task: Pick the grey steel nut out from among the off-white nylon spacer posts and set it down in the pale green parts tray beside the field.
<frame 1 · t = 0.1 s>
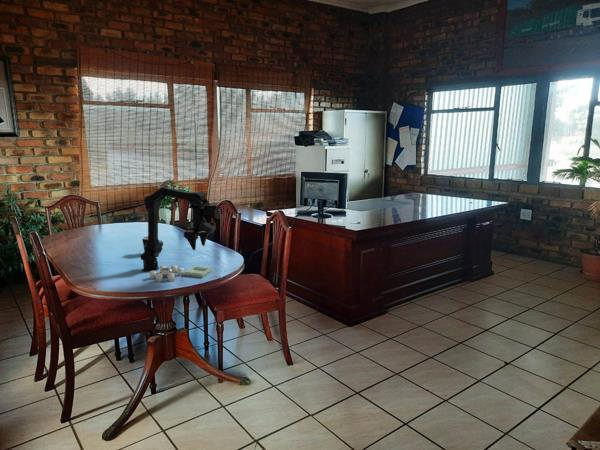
hand: (198, 247, 223), 14 cm above the table, fingers open, 9 cm apart
parts tray: (198, 273, 228), on the table
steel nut: (167, 276, 222), on the table
nylon spacers: (167, 276, 222), on the table
coffee mug: (152, 255, 260), on the table
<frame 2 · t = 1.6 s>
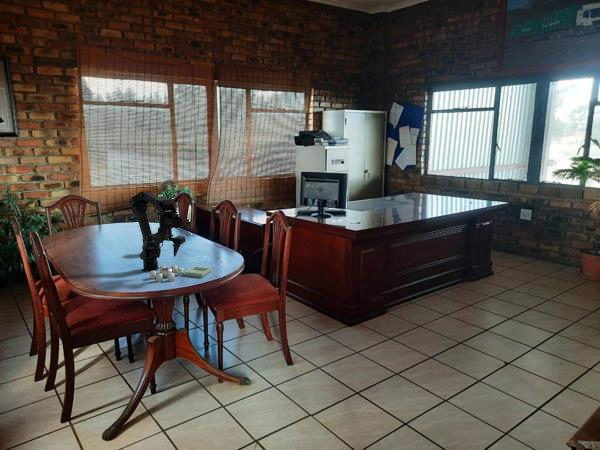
hand: (166, 255, 220), 11 cm above the table, fingers open, 9 cm apart
nothing on the table moved.
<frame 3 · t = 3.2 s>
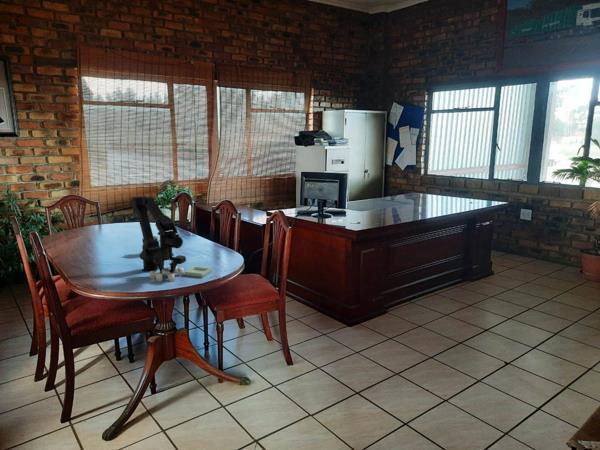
hand: (167, 274, 222), 1 cm above the table, fingers closed on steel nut, 5 cm apart
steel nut: (167, 276, 222), on the table, touching gripper
everything else where it was.
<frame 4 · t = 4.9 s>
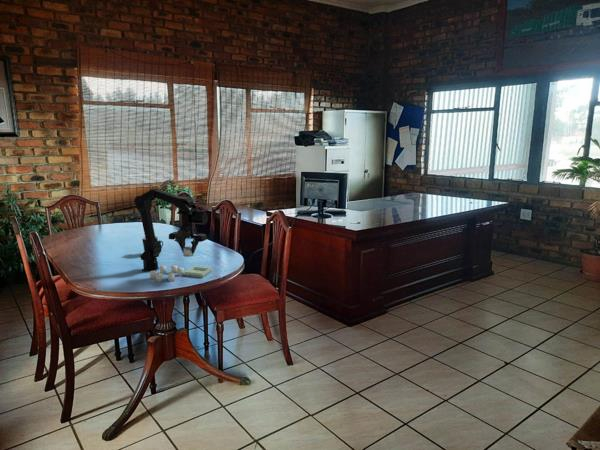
hand: (188, 253, 223), 12 cm above the table, fingers closed on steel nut, 5 cm apart
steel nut: (188, 255, 223), point 10 cm above the table, touching gripper
everything else where it was.
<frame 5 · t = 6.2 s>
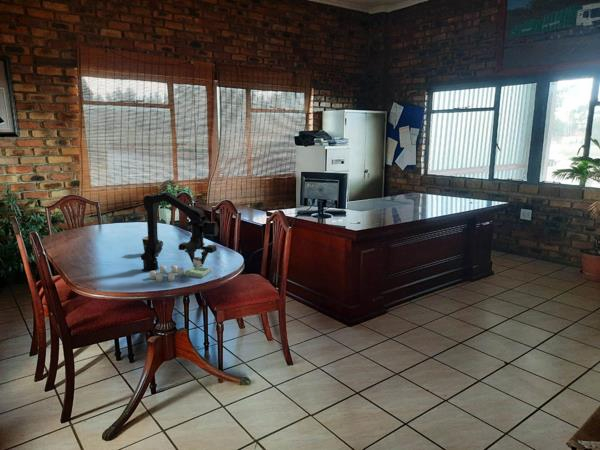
hand: (197, 263, 227), 5 cm above the table, fingers closed on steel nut, 5 cm apart
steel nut: (197, 265, 227), point 4 cm above the table, touching gripper
everything else where it was.
when the fingers open (3 cm above the table, at t = 7.0 s): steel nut drops 2 cm, resting on parts tray.
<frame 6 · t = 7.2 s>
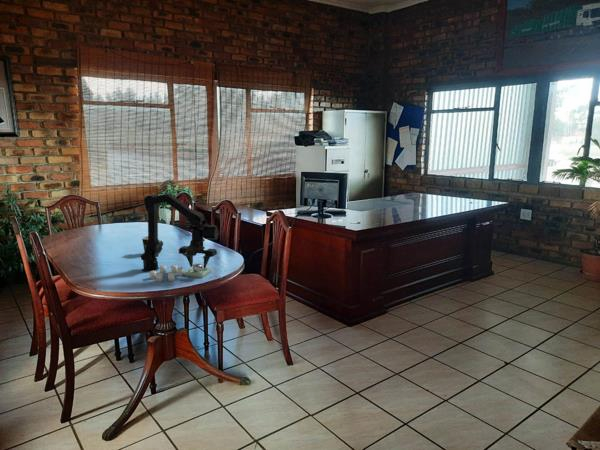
hand: (198, 267, 227), 3 cm above the table, fingers open, 7 cm apart
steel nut: (197, 272, 228), point 1 cm above the table, touching parts tray
everything else where it was.
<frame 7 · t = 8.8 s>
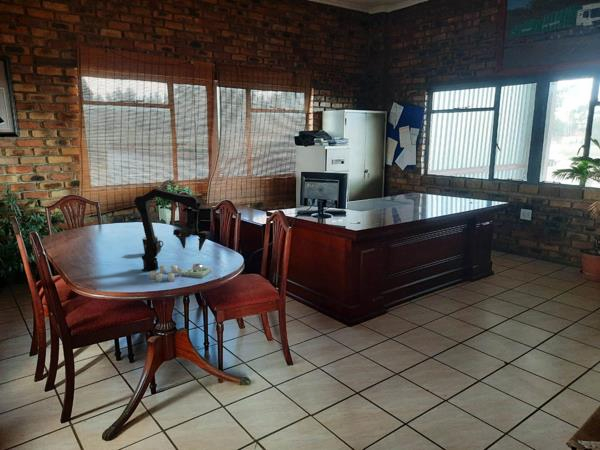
hand: (191, 249, 230), 12 cm above the table, fingers open, 9 cm apart
nothing on the table moved.
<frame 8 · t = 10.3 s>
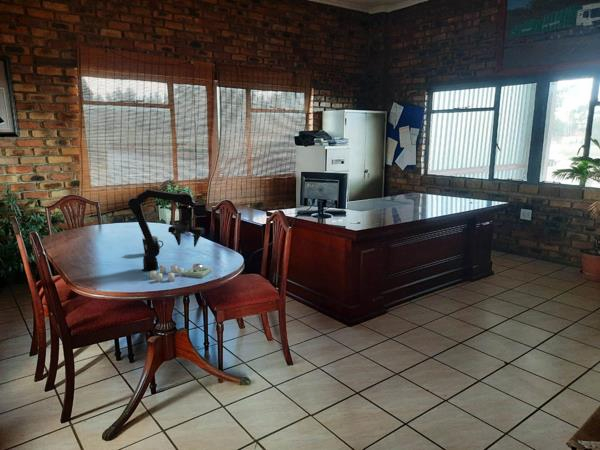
hand: (187, 245, 236), 12 cm above the table, fingers open, 9 cm apart
nothing on the table moved.
at the end: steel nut inside the target area on the parts tray (0.1 cm from its centre), point 0.8 cm above the parts tray's base; the gripper is holding nothing; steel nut moved 15.3 cm from its start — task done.
